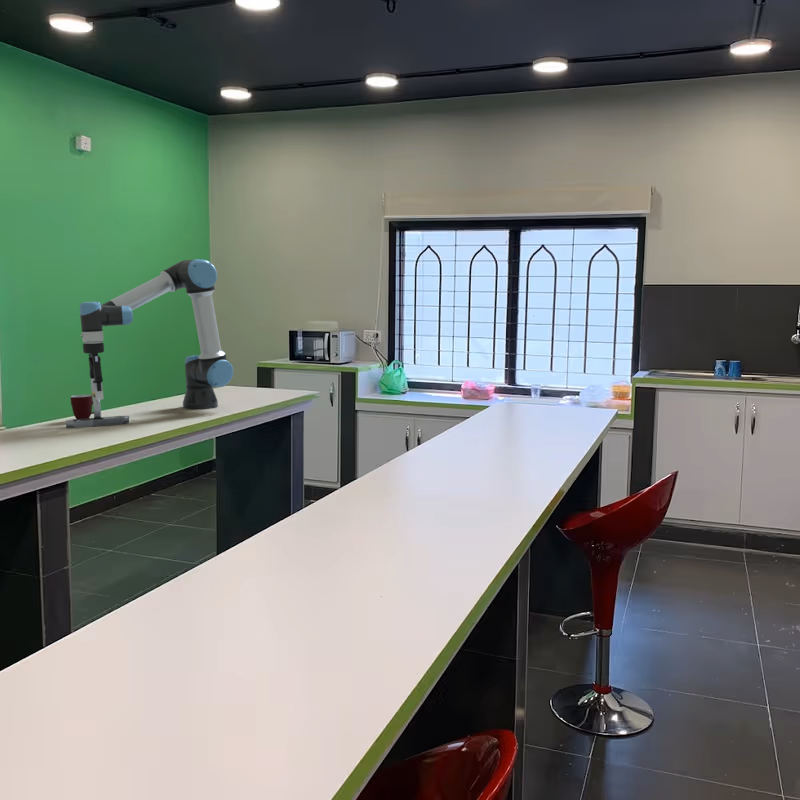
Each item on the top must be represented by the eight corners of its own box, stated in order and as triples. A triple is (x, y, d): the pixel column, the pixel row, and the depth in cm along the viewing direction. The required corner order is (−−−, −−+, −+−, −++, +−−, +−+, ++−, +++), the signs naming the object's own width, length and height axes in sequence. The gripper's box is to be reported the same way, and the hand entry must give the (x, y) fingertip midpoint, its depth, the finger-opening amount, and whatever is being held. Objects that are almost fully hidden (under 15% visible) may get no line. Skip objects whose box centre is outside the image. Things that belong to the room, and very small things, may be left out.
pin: (102, 423, 309) (100, 391, 307) (103, 425, 306) (101, 392, 304) (92, 424, 308) (90, 392, 306) (93, 426, 305) (91, 393, 303)
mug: (98, 417, 324) (96, 393, 322) (101, 420, 317) (100, 395, 315) (70, 420, 318) (69, 395, 317) (73, 422, 312) (72, 397, 310)
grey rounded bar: (128, 421, 314) (127, 415, 314) (130, 423, 310) (129, 417, 310) (65, 426, 304) (65, 419, 304) (66, 428, 299) (66, 422, 299)
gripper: (79, 340, 312) (84, 393, 315) (86, 345, 290) (90, 402, 293) (99, 339, 315) (103, 392, 318) (107, 344, 293) (112, 400, 296)
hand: (97, 397), depth 306 cm, fingers open, 13 cm apart
